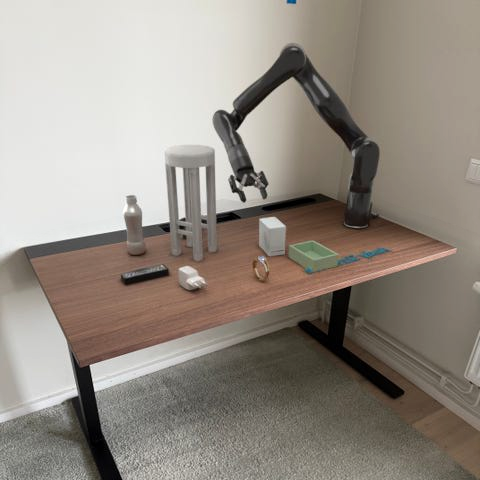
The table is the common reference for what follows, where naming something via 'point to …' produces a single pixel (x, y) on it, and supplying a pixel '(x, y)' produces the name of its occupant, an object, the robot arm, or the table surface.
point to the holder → (313, 255)
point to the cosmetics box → (272, 236)
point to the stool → (191, 196)
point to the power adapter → (190, 278)
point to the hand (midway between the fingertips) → (255, 199)
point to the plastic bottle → (134, 226)
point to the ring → (266, 266)
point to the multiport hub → (144, 274)
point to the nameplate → (340, 262)
